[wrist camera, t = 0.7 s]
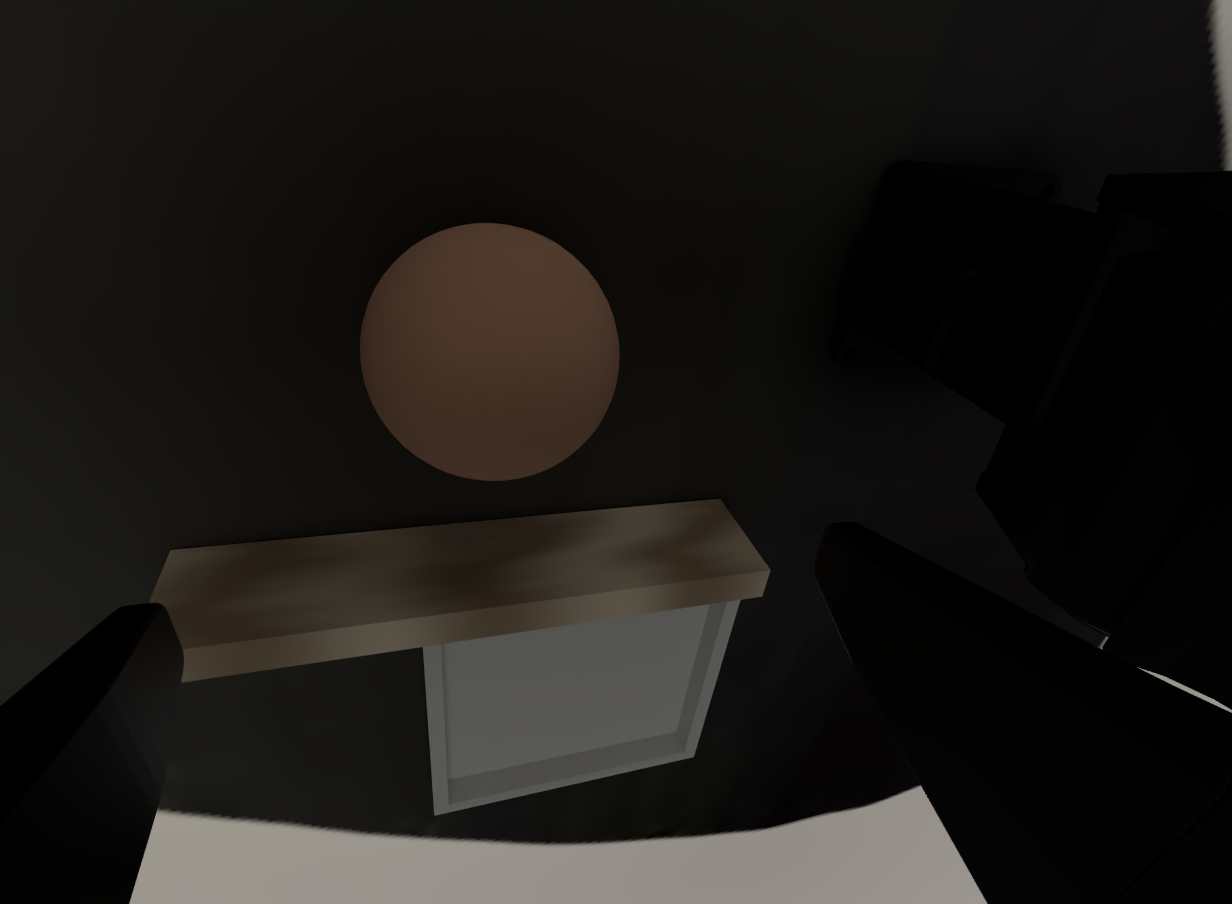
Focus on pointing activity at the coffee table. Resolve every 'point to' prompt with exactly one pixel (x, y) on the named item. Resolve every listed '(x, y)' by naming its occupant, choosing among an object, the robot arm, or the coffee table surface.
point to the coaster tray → (569, 702)
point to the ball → (489, 351)
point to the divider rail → (447, 583)
